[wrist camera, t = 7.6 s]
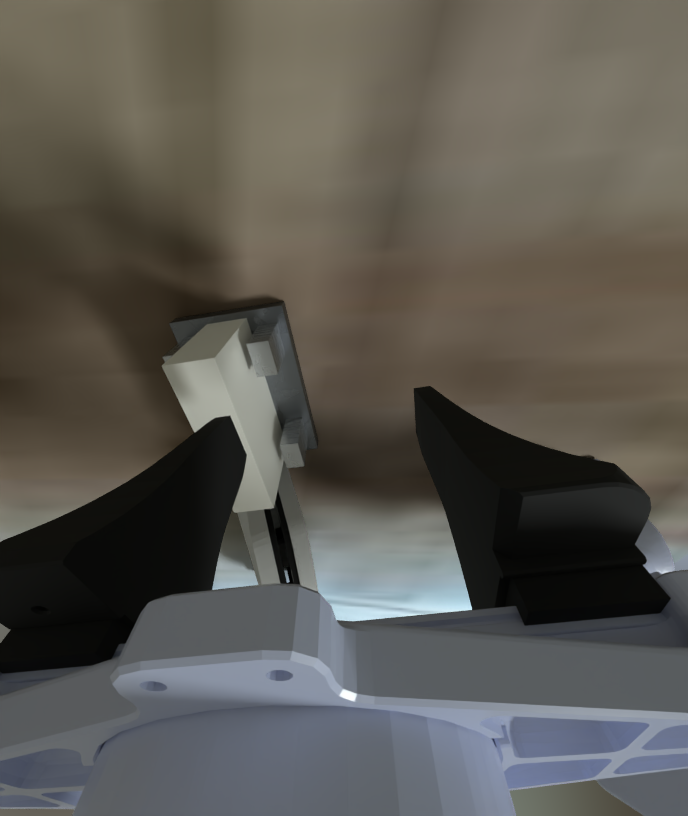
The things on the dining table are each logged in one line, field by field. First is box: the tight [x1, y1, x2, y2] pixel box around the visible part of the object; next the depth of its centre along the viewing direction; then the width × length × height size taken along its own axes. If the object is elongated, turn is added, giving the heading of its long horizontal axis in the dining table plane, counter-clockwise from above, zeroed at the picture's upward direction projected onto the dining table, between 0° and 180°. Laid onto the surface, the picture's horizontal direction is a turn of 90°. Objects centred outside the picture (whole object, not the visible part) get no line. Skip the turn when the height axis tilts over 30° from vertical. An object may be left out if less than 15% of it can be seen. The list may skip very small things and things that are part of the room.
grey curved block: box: [237, 461, 318, 592], centre depth 28 cm, size 17×5×10 cm, turn 1°
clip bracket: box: [163, 301, 318, 468], centre depth 21 cm, size 7×11×4 cm, turn 9°
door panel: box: [162, 318, 284, 513], centre depth 20 cm, size 3×10×6 cm, turn 9°
